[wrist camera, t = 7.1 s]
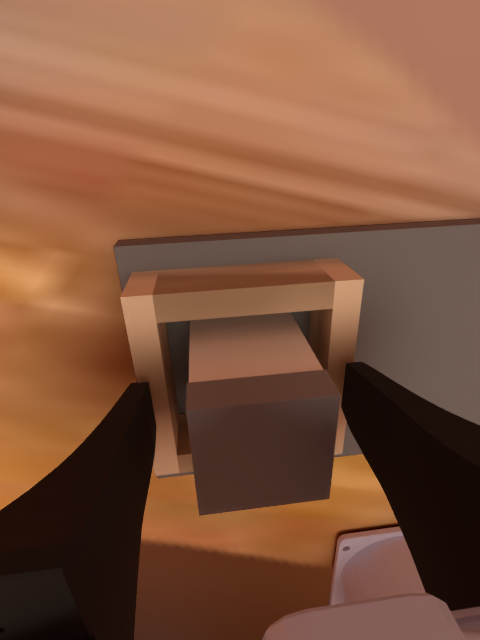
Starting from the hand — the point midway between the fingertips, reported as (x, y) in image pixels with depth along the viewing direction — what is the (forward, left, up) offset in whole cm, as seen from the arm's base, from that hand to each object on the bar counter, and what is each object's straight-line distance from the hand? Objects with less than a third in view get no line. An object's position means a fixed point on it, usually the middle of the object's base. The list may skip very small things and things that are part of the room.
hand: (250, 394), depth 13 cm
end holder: (0, 0, -4) cm, 4 cm away
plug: (0, 0, -3) cm, 3 cm away
